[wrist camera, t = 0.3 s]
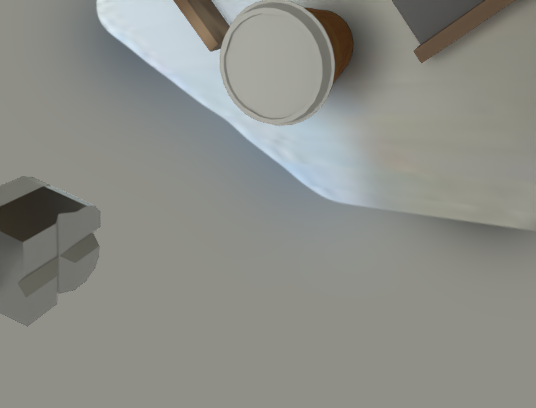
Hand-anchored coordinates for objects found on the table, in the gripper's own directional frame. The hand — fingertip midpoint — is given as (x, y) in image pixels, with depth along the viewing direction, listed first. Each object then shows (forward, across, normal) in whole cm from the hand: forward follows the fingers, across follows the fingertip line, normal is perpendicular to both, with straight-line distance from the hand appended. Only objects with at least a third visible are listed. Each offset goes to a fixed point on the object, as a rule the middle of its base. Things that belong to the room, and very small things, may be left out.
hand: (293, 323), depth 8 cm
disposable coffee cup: (+40, +10, +2) cm, 41 cm away
